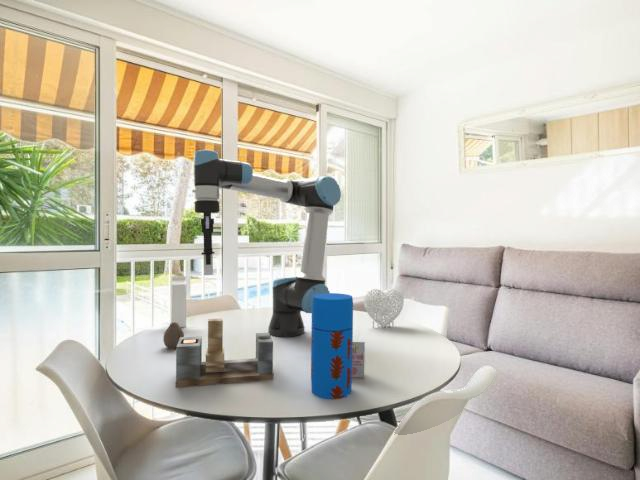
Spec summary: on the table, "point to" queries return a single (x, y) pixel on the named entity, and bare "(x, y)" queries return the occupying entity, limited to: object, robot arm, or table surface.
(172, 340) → the vase
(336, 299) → the thermos
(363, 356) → the white printed box
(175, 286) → the milk
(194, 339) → the button
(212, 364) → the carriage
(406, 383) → the table surface
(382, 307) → the decorative heart
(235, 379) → the rail track
